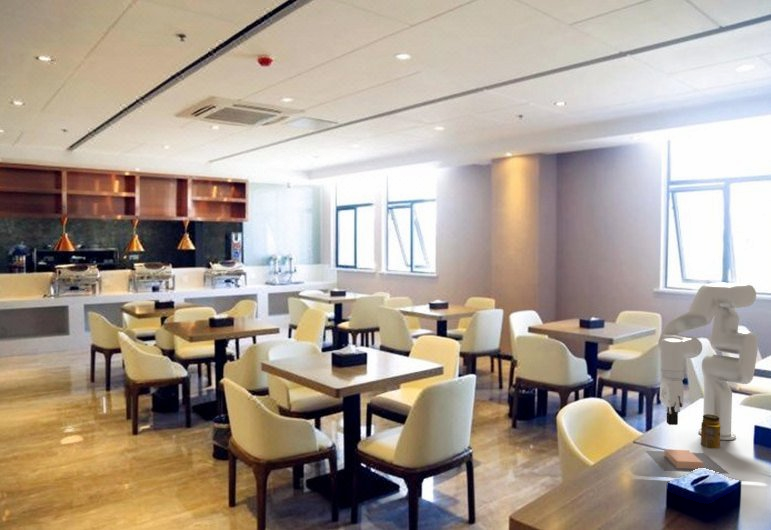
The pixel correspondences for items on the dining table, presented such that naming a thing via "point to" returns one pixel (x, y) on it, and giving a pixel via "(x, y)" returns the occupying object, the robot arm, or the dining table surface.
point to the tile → (683, 459)
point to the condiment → (710, 431)
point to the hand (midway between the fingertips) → (672, 423)
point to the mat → (669, 466)
